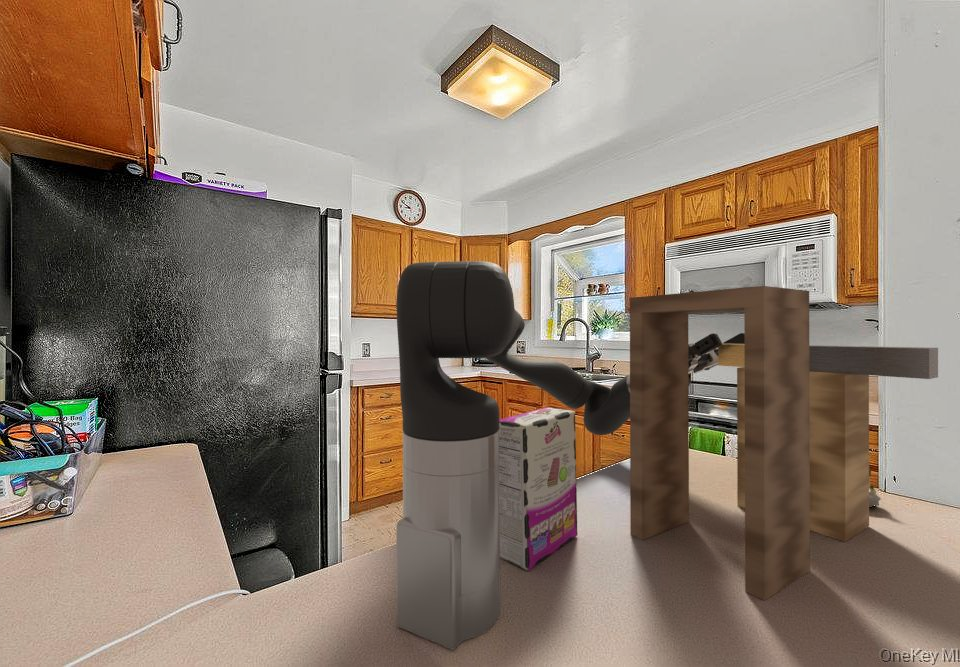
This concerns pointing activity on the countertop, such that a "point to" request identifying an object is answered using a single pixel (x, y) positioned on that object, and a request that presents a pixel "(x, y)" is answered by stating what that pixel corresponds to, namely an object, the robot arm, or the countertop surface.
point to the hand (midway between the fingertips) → (733, 338)
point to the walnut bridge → (768, 423)
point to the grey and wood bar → (855, 360)
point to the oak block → (829, 452)
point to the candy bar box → (537, 485)
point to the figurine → (873, 495)
